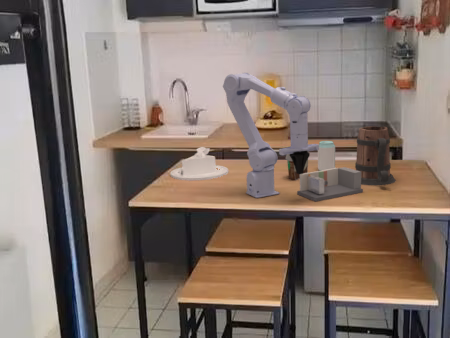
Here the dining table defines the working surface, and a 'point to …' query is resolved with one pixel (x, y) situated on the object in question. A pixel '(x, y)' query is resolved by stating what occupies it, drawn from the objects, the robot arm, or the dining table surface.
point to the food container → (292, 170)
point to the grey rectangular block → (316, 184)
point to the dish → (199, 167)
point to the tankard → (374, 156)
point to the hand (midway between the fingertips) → (299, 173)
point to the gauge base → (332, 183)
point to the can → (326, 155)
